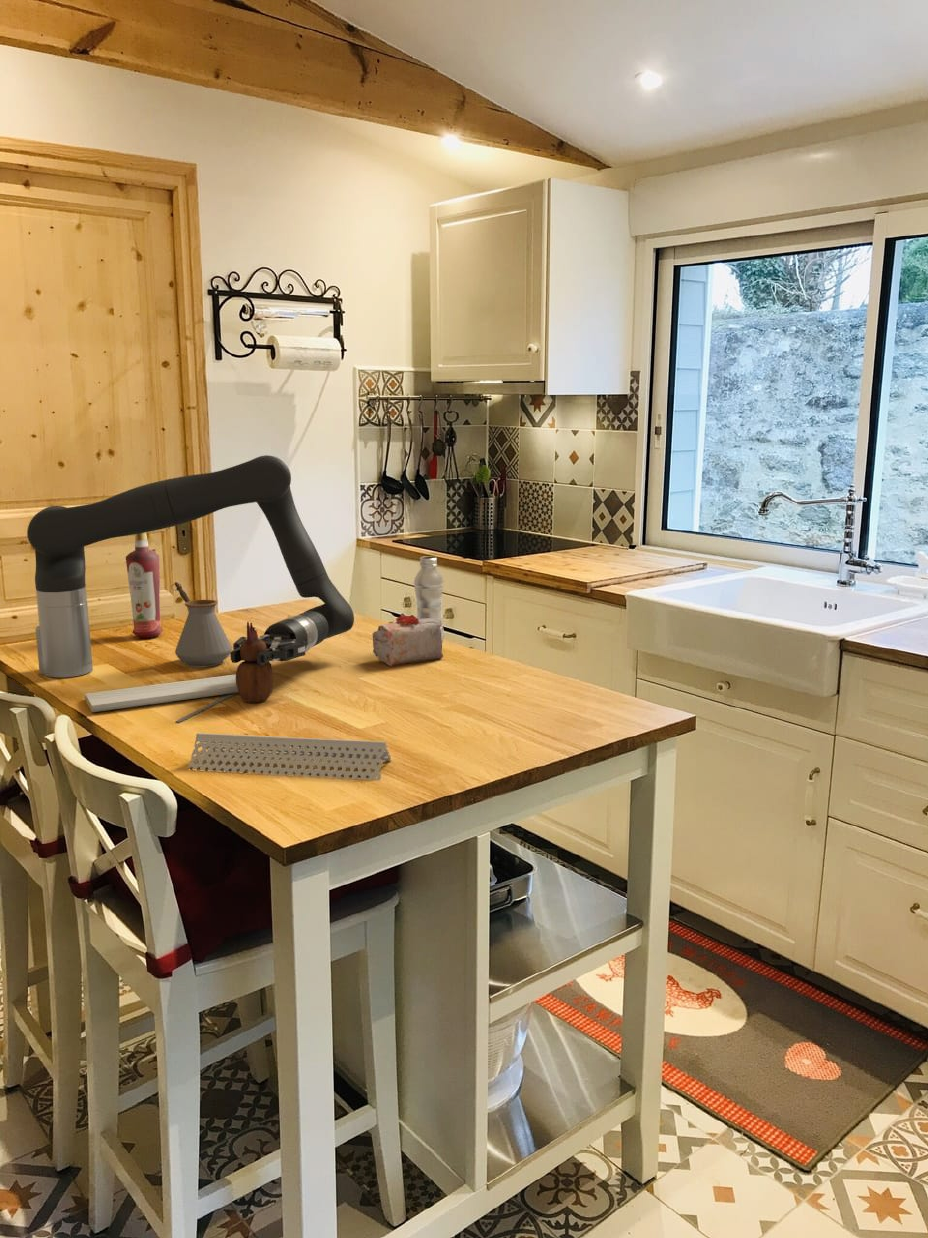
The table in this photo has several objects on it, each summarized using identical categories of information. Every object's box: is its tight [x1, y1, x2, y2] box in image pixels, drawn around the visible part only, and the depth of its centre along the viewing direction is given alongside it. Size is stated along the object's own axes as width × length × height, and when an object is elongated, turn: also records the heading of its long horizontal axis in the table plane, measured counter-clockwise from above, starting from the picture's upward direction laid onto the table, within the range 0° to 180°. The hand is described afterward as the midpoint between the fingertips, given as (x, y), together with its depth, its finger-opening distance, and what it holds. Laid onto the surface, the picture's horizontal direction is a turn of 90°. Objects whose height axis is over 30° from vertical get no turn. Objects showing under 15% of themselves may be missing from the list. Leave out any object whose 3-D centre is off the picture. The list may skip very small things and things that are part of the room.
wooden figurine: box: [235, 621, 275, 704], centre depth 180 cm, size 7×6×15 cm
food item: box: [371, 612, 444, 667], centre depth 209 cm, size 14×8×10 cm, turn 121°
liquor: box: [125, 532, 164, 640], centre depth 229 cm, size 7×7×28 cm
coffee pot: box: [170, 581, 233, 668], centre depth 211 cm, size 21×12×15 cm, turn 34°
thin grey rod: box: [175, 693, 238, 723], centre depth 177 cm, size 1×19×1 cm, turn 161°
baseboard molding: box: [84, 673, 239, 713], centre depth 185 cm, size 31×3×12 cm
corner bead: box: [187, 732, 392, 781], centre depth 148 cm, size 29×9×5 cm, turn 81°
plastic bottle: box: [413, 555, 445, 644], centre depth 219 cm, size 6×7×20 cm
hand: (246, 658), depth 177 cm, fingers closed on wooden figurine, 4 cm apart
